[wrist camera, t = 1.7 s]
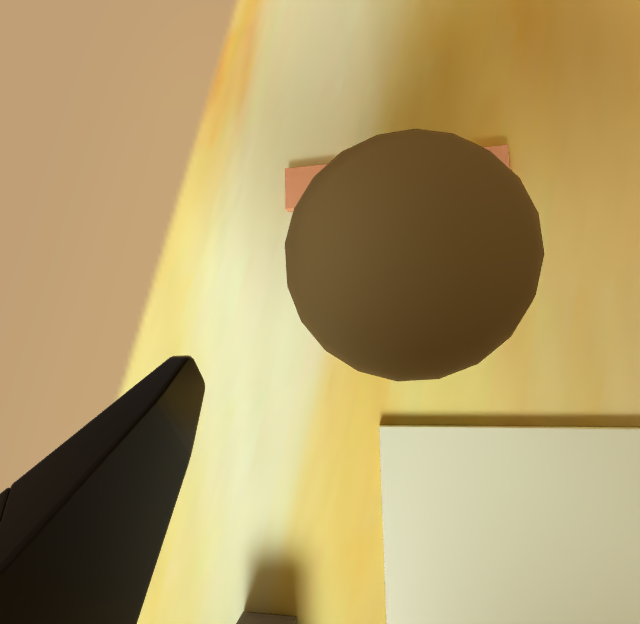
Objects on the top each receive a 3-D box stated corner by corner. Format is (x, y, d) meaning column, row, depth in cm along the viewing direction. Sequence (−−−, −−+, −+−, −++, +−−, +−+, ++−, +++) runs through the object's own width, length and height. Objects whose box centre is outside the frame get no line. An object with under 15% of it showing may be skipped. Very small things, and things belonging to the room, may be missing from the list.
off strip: (508, 192, 17) (511, 188, 17) (287, 211, 19) (285, 208, 19) (505, 149, 17) (508, 144, 17) (287, 172, 19) (285, 168, 19)
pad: (744, 785, 14) (754, 798, 13) (391, 735, 16) (391, 744, 15) (696, 428, 15) (705, 429, 15) (379, 424, 17) (379, 426, 17)
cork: (347, 391, 17) (278, 445, 7) (318, 263, 18) (215, 130, 8) (486, 361, 17) (662, 367, 6) (447, 228, 18) (538, 22, 7)
